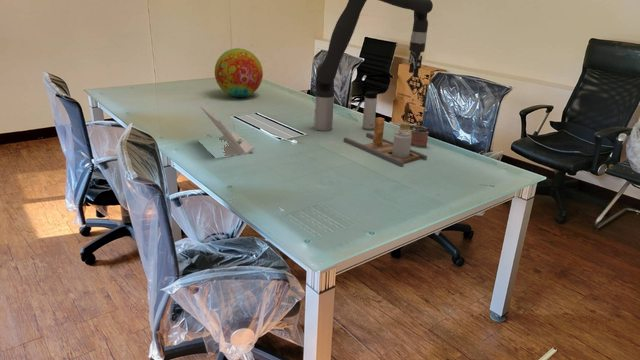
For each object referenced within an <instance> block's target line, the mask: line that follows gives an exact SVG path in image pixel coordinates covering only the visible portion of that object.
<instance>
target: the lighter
mask: <svg viewBox="0 0 640 360" xmlns="http://www.w3.org/2000/svg"><path fill="white" fill-rule="evenodd" d="M427 129H428V128H427V127H426V126H423V125H420V126H419V125H414V124H413V127H412V129H410V130H411V132H412V133H411V136H412V139H411V147H415V148H422V149H423V148H424V149H425V148H427V147H428V145H427V144H428V138H429V133H430V132H429V131H428V130H427Z"/></svg>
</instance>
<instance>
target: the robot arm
mask: <svg viewBox="0 0 640 360" xmlns="http://www.w3.org/2000/svg"><path fill="white" fill-rule="evenodd" d="M378 1H380V2H383V3H385V4H389V5H391V6H394V7H398V8H401V9H405V10H411V11H413V25H412V32H411V35H410V40H409V48H408V50H409V58H408V64H409V69H408V73H410V74H412V76H413V77H418V75H419V72H420V71H419V70H420V69H421V67H422V61H423V60H422V59H423V55H421V53H424V52H425V50H426V43H427V37H428V35H427V33H428V27H429V21H428V14H429V13H430V12H432V10H433V8H434V7H433V5H434V4H433V2H432V0H378ZM366 2H367V0H348V2H347V4H346V6H345V7H344V10H343V11H342V13H341V14H340V16H339V18H338V19H337V21H336V23H335V26H334V28H333V30H332V34H331V36H330V39H329V40H330V41H329V45H328V50H327V52H326V56H325V57H324V60H323V62H322V63H319V65H317V67H316V71H315V104H314V105H315V107H314V108H315V109H314V117H313V118H314V119H313V121H314V123H313V127H314V130H315V131H317V130H318V131H321V132H322V131H323V132H324V131H325V132H326V131H332V130H333V126H334V125H333V124H334V123H333V122H334V121H333V120H334V104H335V101H334V100H335V79H336V75H337V73H338V69H339V67H340V63H341V61H342V58H343V56H344V54H345V52H346V50H347V49H348V46H349V43H350V41H351V39H352V36H353V35H354V32H355V29H356V28H357V23H358V21H359V19H360V16H361V12H362V10H363V8H364V7H365V4H366Z"/></svg>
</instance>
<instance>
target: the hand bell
mask: <svg viewBox="0 0 640 360" xmlns="http://www.w3.org/2000/svg"><path fill="white" fill-rule="evenodd" d="M403 109H404V118H403V119H404V120H403V121H402V122H401V123H400V126H399V129H398V130H405V131H409V132H410V133H412V132H411V130H412V129H411V124H410V122H409V121H408V120H409V119H408V116H409V113H410V109H411V107H410V102H406V103H405V106H404V108H403ZM410 135H411V134H410Z"/></svg>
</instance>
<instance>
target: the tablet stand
mask: <svg viewBox="0 0 640 360" xmlns="http://www.w3.org/2000/svg"><path fill="white" fill-rule="evenodd" d="M200 109H201V110H202V111H203V113H205V115H206V116H207V117H208V119H209V120H211V122H212V123H213V125H214V126H215V127H216V128H217V129H218V131H220V133H221V134H222V136H220V137H217V138H219V140H221V142H222V140H224V142H225V141H227V143H228V145H229V146H228V145H227V144H226V145H227V146H226V147H225V145H224V151H225V152H223V153H225V155H224V156H231V155H238V154H244V155H247V154H246V153H249V154H250V153H252V151H253V150H255V147H254V146H253V145H252V144H250V142H248V141H247V140H246V139H244V138H243V137H242V136H241V135H239V134H238V133H237V132H236V131H232V132H230V131H229V130H228V129H227V127H226V126H225V125H224V124H223V122H222V121H221V120H220V119H219V118H218V117H217V116H215V115H214V114H213V113H211V112H210V111H209V110H207V109H206V108H205V107H204V106H202V105H200ZM239 142H241V143H239ZM222 149H223V148H222ZM238 156H239V155H238ZM231 157H232V156H231Z"/></svg>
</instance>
